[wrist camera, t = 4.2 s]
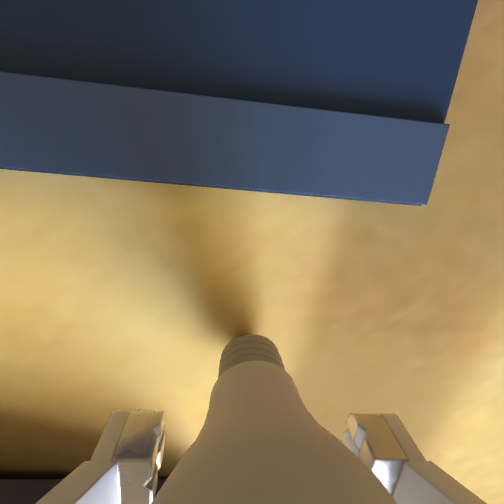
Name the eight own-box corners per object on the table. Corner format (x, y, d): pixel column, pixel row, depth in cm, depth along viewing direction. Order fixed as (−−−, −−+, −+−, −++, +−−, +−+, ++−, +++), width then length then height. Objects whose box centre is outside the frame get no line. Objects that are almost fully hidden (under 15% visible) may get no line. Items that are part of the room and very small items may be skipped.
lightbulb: (273, 259, 12) (504, 834, 2) (338, 361, 14) (629, 926, 4) (151, 332, 13) (-144, 1046, 3) (229, 420, 15) (231, 1034, 5)
